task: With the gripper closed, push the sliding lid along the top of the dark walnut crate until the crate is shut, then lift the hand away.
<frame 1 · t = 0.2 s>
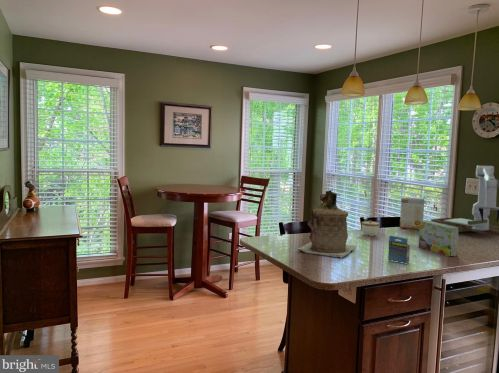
hand: (489, 221, 242), 10 cm above the worktop, tool pointing down, fingers open, 7 cm apart
lid: (465, 220, 261), point 8 cm above the worktop, slide at 10.0 cm
crate: (450, 229, 270), on the worktop
lidded jar: (369, 235, 246), on the worktop
snack box: (436, 252, 208), on the worktop
cookie jar: (327, 251, 205), on the worktop
label tape box: (398, 262, 186), on the worktop
cracker box: (411, 228, 270), on the worktop
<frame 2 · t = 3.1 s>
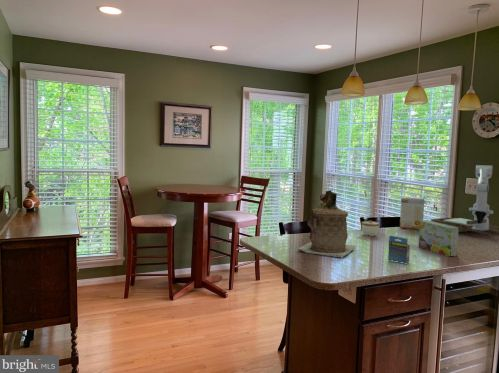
hand: (479, 223, 253), 7 cm above the worktop, tool pointing down, fingers closed
lid: (464, 220, 261), point 8 cm above the worktop, slide at 9.3 cm, touching gripper
everything else where it was.
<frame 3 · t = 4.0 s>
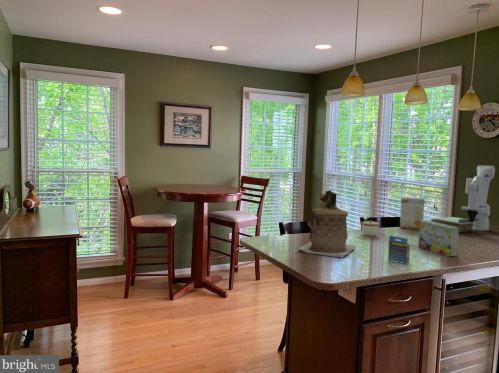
hand: (471, 221, 257), 7 cm above the worktop, tool pointing down, fingers closed
lid: (457, 218, 266), point 8 cm above the worktop, slide at 4.0 cm, touching gripper
everything else where it was.
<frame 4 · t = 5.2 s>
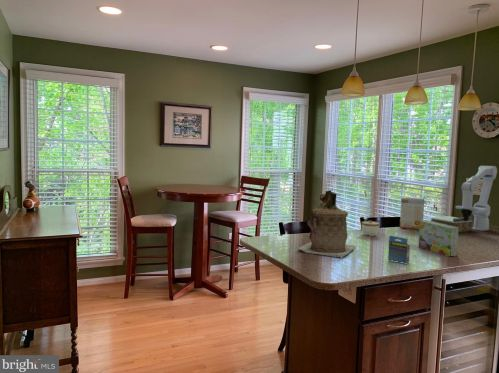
hand: (465, 220, 261), 7 cm above the worktop, tool pointing down, fingers closed
lid: (451, 218, 269), point 8 cm above the worktop, slide at 0.1 cm, touching gripper
everything else where it was.
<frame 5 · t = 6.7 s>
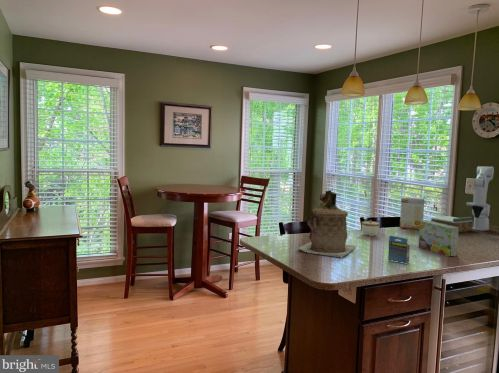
hand: (477, 217, 257), 10 cm above the worktop, tool pointing down, fingers closed
lid: (451, 218, 269), point 8 cm above the worktop, slide at 0.1 cm
everything else where it was.
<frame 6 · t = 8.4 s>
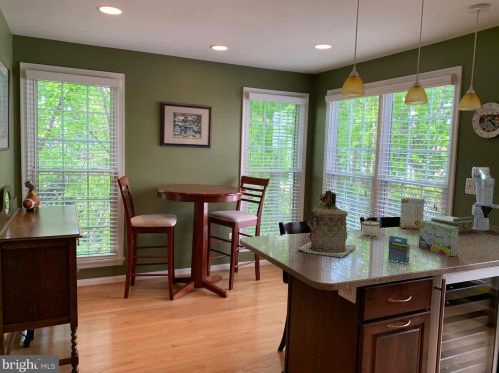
hand: (486, 217, 256), 10 cm above the worktop, tool pointing down, fingers closed
nothing on the worktop moved.
at the end: lid slide at 0.1 cm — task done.
